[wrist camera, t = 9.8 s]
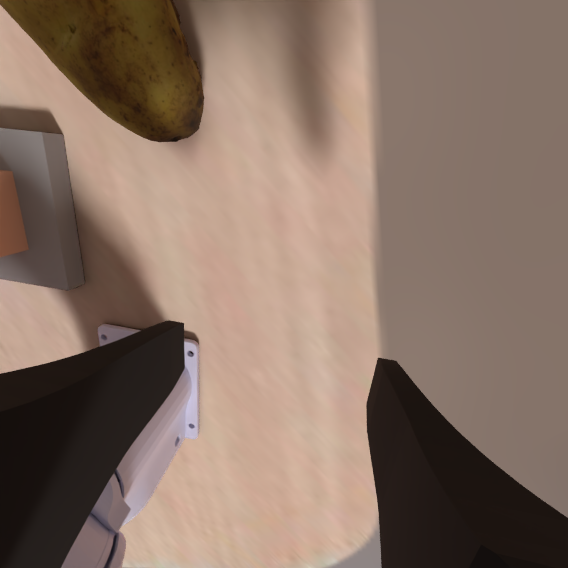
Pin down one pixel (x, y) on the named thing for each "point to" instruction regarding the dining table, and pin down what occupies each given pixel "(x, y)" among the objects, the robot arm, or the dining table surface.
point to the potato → (121, 59)
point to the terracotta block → (10, 217)
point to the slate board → (42, 211)
